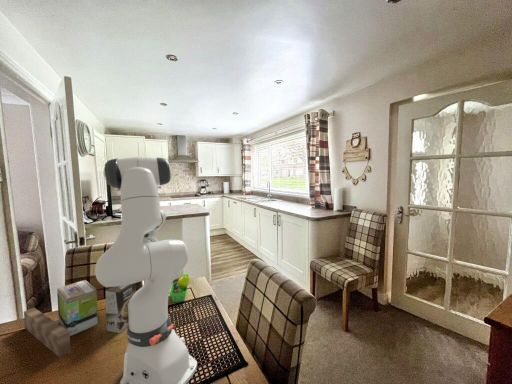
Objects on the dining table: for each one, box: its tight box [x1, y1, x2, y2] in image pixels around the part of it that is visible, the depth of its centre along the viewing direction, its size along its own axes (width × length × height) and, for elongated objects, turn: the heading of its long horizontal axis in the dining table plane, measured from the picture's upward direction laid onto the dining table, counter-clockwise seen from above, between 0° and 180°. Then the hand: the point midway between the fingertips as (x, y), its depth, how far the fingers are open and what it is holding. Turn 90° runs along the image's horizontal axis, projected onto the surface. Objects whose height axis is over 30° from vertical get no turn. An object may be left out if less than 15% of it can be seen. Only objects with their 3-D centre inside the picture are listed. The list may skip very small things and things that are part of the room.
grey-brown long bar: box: [23, 307, 71, 358], centre depth 80 cm, size 30×3×7 cm, turn 62°
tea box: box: [56, 279, 99, 337], centre depth 89 cm, size 15×10×15 cm, turn 52°
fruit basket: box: [169, 273, 191, 303], centre depth 108 cm, size 11×9×11 cm
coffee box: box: [104, 283, 137, 334], centre depth 88 cm, size 9×6×16 cm
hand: (126, 261), depth 106 cm, fingers closed
